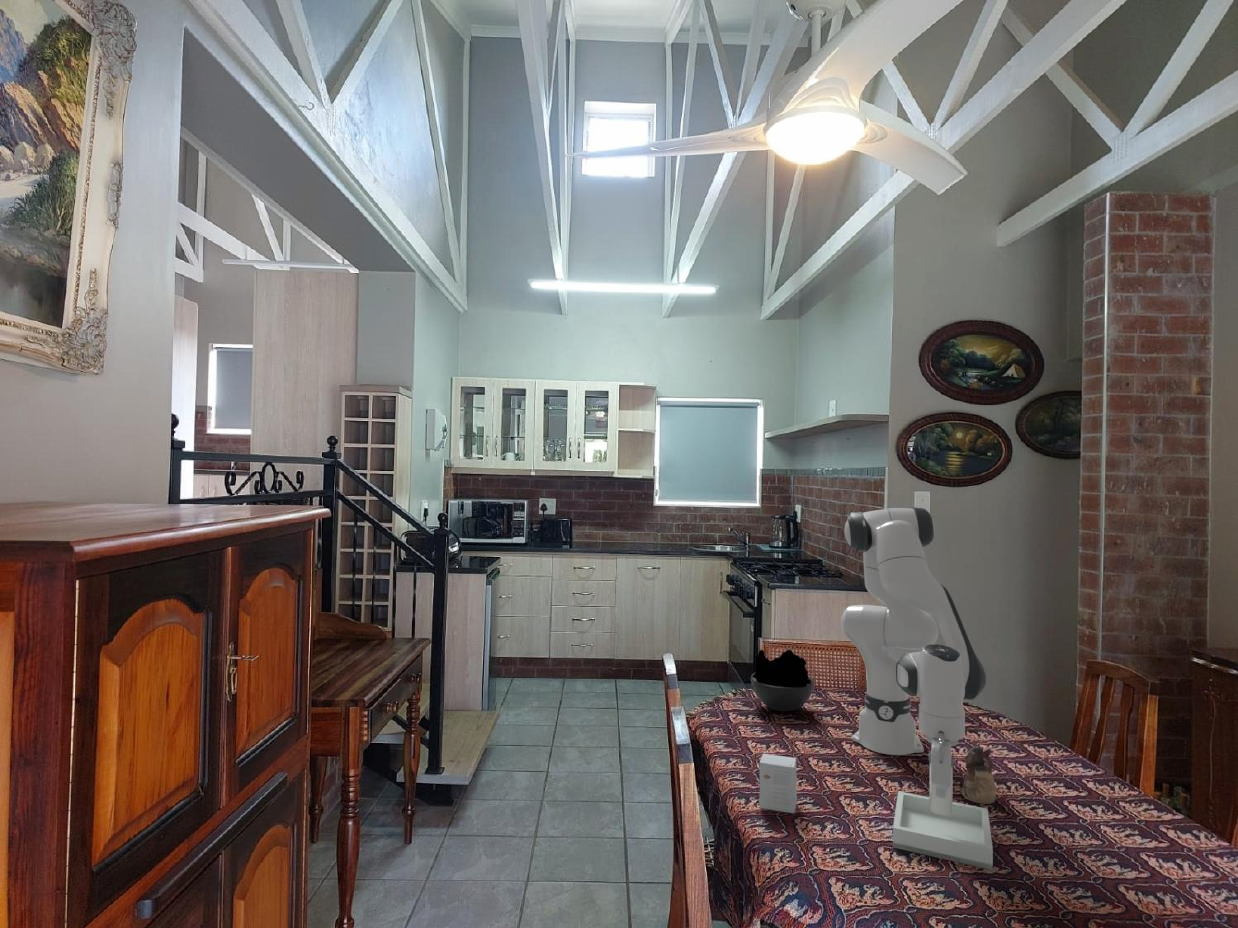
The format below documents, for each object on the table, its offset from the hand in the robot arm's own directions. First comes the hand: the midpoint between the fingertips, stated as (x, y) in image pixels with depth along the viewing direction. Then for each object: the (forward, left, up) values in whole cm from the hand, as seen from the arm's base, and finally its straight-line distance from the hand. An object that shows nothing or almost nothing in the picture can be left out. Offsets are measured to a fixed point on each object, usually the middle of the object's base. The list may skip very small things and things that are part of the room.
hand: (941, 790), depth 144 cm
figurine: (-24, +8, -10) cm, 27 cm away
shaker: (0, 0, -4) cm, 4 cm away
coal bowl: (-63, -47, -10) cm, 79 cm away
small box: (+2, -34, -10) cm, 35 cm away
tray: (0, 0, -10) cm, 10 cm away
